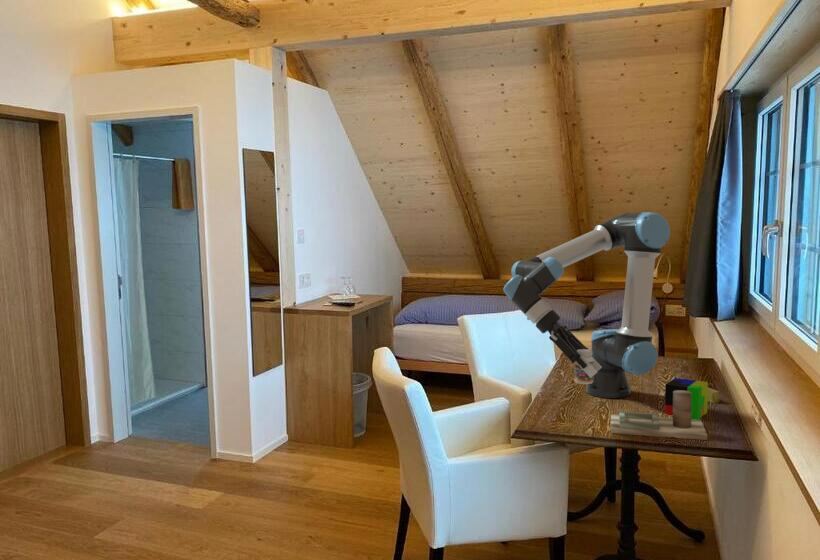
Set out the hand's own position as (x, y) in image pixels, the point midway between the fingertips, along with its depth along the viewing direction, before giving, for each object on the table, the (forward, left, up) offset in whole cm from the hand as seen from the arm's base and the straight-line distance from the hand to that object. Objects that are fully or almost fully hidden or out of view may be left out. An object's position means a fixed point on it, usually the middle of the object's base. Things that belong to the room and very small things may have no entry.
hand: (596, 372), depth 195 cm
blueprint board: (0, +17, -16) cm, 24 cm away
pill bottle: (-1, -4, -4) cm, 5 cm away
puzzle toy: (-18, +27, -17) cm, 37 cm away
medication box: (-38, +35, -17) cm, 54 cm away
